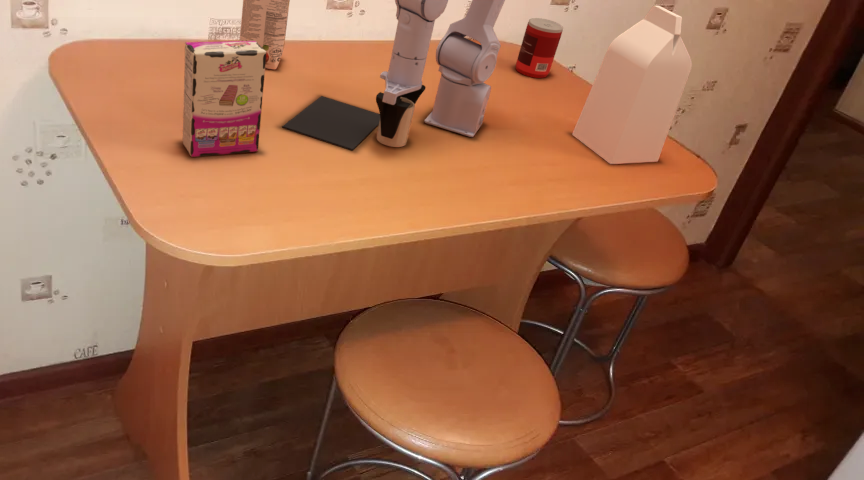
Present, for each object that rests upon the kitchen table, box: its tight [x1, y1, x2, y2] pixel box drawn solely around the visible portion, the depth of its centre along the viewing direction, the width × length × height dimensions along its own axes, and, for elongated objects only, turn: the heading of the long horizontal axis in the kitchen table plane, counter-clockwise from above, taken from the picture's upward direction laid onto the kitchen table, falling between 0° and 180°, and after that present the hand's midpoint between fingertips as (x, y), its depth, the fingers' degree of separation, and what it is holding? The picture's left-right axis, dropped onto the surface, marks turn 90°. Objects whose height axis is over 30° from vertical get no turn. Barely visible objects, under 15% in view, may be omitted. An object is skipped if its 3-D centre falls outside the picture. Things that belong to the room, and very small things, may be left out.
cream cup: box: [375, 97, 416, 148], centre depth 135 cm, size 5×5×7 cm
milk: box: [571, 5, 693, 165], centre depth 144 cm, size 12×12×26 cm
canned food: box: [515, 17, 564, 79], centre depth 176 cm, size 8×8×11 cm
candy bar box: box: [182, 40, 266, 158], centre depth 120 cm, size 11×5×16 cm, turn 118°
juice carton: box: [239, 0, 291, 70], centre depth 151 cm, size 8×9×19 cm
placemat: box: [281, 95, 380, 151], centre depth 139 cm, size 13×17×1 cm
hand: (393, 130), depth 136 cm, fingers open, 6 cm apart
